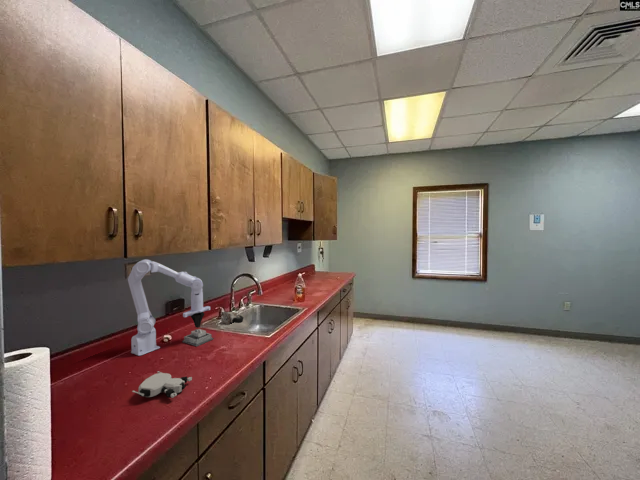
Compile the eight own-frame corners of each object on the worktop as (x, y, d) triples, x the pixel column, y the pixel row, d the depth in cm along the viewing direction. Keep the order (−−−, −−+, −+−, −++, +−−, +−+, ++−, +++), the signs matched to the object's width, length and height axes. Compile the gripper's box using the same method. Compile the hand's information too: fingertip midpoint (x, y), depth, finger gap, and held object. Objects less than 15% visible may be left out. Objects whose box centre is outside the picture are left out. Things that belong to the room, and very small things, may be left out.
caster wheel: (244, 324, 163) (233, 327, 154) (231, 319, 168) (220, 321, 159) (246, 314, 163) (236, 317, 154) (234, 309, 168) (222, 311, 159)
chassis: (196, 346, 126) (196, 341, 126) (182, 342, 132) (182, 336, 132) (213, 339, 134) (213, 334, 134) (199, 335, 140) (199, 330, 140)
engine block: (198, 342, 129) (198, 332, 129) (191, 340, 132) (190, 330, 132) (206, 339, 133) (205, 329, 133) (198, 337, 136) (198, 327, 136)
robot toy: (194, 384, 95) (155, 381, 96) (194, 372, 95) (156, 369, 96) (173, 406, 83) (129, 402, 83) (174, 392, 83) (130, 388, 83)
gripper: (188, 305, 124) (189, 332, 125) (213, 299, 137) (214, 323, 137) (180, 304, 128) (180, 330, 128) (205, 297, 141) (206, 321, 141)
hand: (197, 327), depth 133 cm, fingers closed
